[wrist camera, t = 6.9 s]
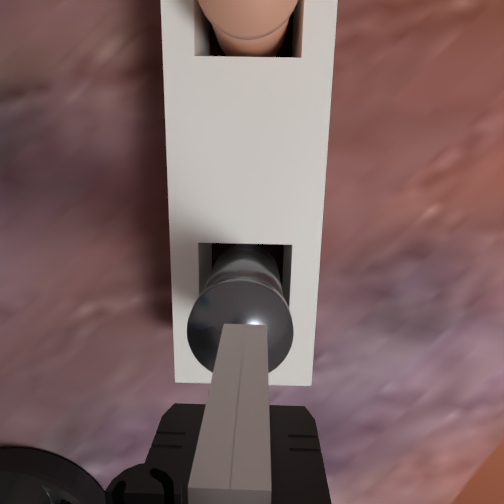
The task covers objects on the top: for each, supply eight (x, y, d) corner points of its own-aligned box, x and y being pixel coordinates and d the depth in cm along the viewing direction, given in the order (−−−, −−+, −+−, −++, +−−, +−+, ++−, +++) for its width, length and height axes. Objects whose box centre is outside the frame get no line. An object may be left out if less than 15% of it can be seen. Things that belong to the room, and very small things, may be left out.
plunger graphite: (209, 309, 23) (188, 378, 16) (208, 239, 22) (185, 281, 15) (281, 311, 23) (291, 381, 16) (283, 241, 22) (296, 283, 15)
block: (192, 334, 28) (175, 382, 22) (182, -85, 21) (154, -173, 15) (300, 337, 28) (311, 385, 22) (324, -83, 21) (349, -171, 15)
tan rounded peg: (212, 70, 22) (191, 33, 15) (212, -15, 21) (189, -98, 14) (287, 71, 22) (301, 35, 15) (290, -14, 21) (307, -97, 14)
